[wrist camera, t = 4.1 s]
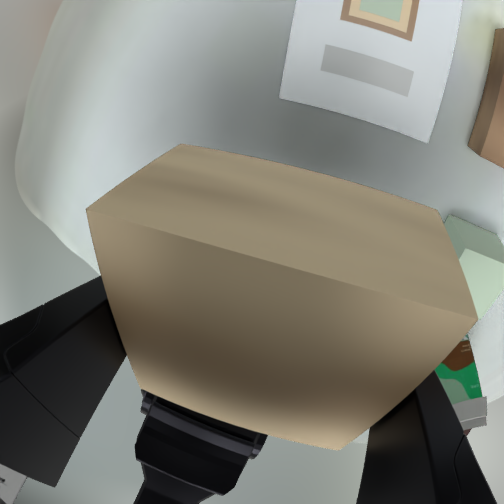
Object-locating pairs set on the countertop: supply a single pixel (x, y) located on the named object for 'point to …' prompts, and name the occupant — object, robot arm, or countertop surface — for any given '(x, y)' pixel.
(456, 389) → the food container
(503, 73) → the walnut base
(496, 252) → the sage brick
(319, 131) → the countertop surface
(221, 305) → the oak brick
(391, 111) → the page
